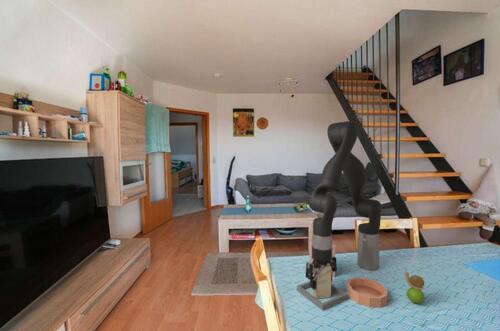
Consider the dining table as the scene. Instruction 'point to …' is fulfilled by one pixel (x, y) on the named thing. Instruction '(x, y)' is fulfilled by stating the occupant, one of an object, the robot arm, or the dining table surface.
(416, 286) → the snail figurine
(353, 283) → the bowl
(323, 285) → the skincare box
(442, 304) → the dining table surface
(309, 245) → the greeting card
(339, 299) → the open rectangular frame
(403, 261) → the dining table surface
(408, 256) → the dining table surface
